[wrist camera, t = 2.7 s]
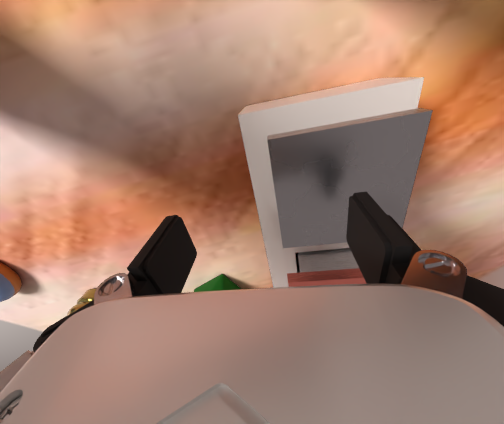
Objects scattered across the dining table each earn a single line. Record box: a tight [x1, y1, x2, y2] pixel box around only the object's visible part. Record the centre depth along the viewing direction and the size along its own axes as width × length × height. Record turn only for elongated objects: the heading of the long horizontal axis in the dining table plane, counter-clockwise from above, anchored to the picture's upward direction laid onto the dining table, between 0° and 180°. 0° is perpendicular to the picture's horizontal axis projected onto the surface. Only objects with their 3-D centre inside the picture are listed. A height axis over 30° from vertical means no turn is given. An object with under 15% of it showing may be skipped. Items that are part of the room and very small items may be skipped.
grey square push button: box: [267, 108, 433, 248], centre depth 15 cm, size 8×8×6 cm
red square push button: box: [287, 248, 367, 287], centre depth 22 cm, size 8×8×6 cm
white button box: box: [238, 77, 424, 288], centre depth 22 cm, size 22×12×6 cm, turn 11°
